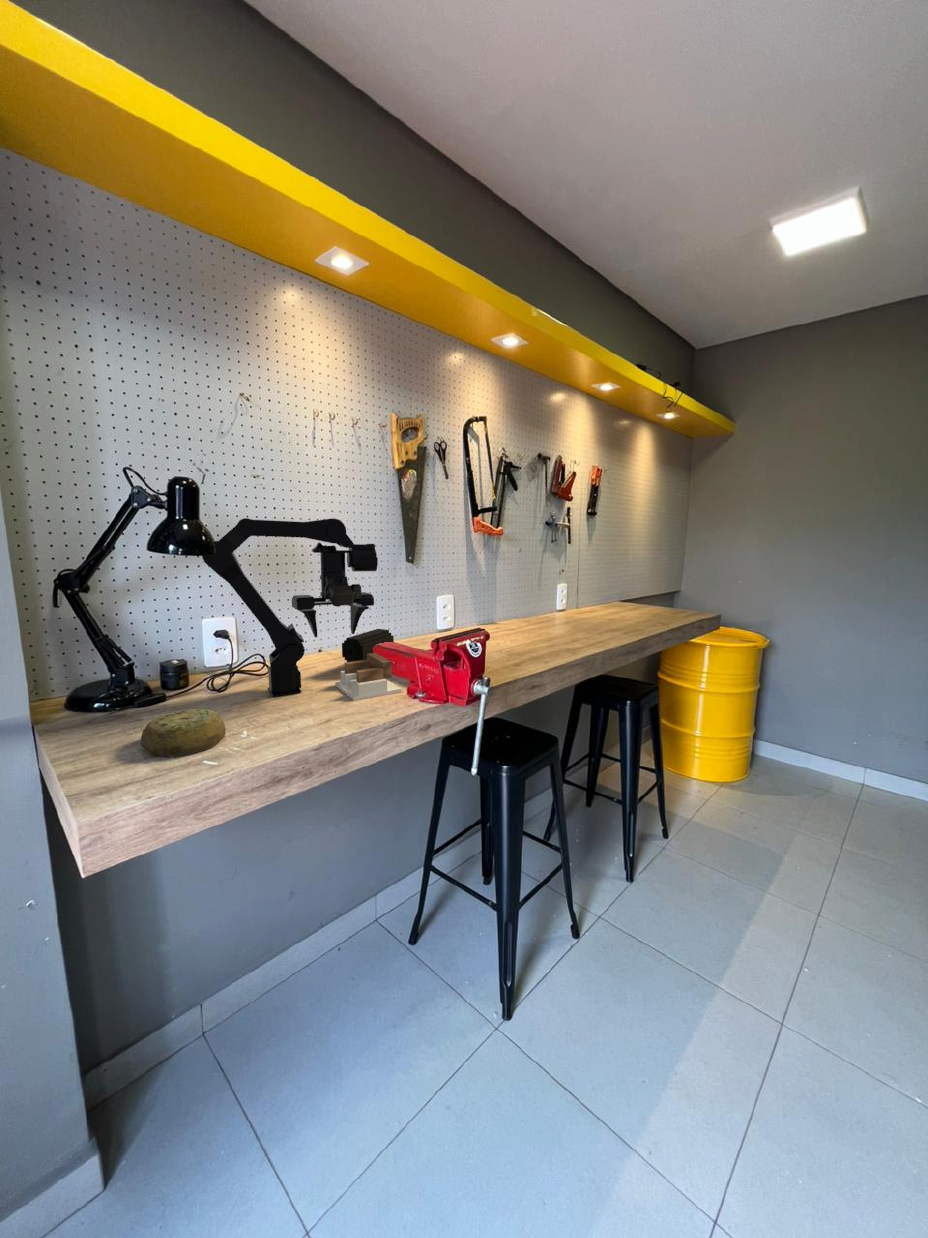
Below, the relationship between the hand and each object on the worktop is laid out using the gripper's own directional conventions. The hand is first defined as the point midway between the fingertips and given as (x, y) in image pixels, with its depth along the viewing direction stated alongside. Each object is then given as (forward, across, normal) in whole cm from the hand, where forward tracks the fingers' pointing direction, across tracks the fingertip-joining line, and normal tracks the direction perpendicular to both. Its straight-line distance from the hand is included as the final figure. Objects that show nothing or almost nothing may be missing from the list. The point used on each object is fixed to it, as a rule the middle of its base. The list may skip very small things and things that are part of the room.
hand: (334, 635), depth 121 cm
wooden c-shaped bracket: (+9, +6, -6) cm, 13 cm away
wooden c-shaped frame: (+13, +6, -6) cm, 15 cm away
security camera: (+13, +14, +12) cm, 23 cm away
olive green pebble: (+14, -34, -18) cm, 41 cm away
